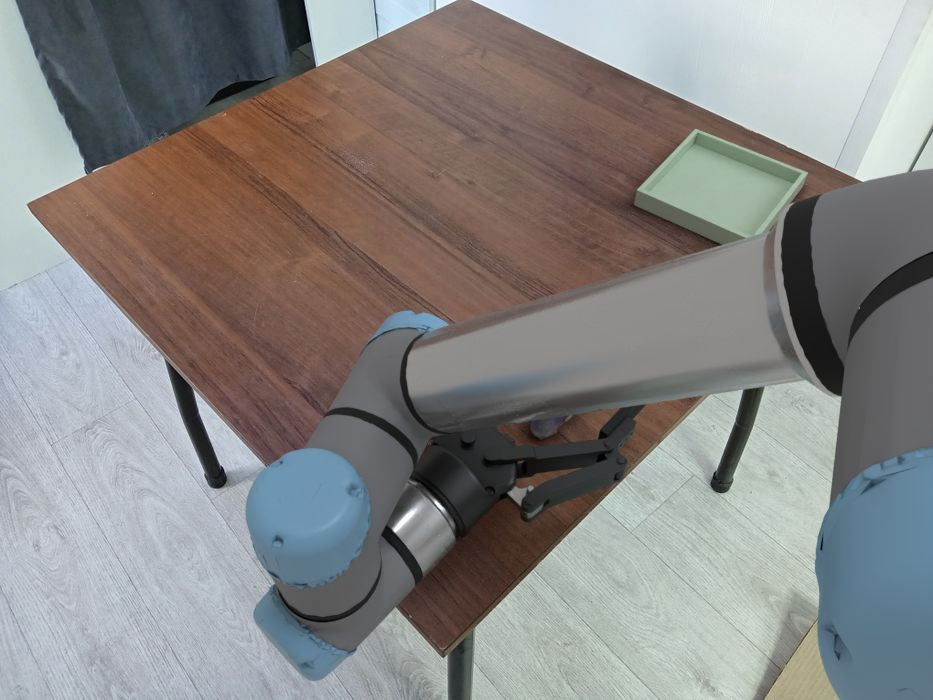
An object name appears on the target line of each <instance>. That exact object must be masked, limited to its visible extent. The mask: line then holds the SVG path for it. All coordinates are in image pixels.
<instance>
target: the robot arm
mask: <svg viewBox="0 0 933 700" xmlns="http://www.w3.org/2000/svg"><path fill="white" fill-rule="evenodd" d="M352 367H353V368H352V369H351V371H350V372H349V374H348V376H347V377H346V379H345V381H344V383H343V384H342V386H341V388H340V390H339V391H338V393H337V394H336V396H335V398H334V400H333V401H332V403H331V405H330V406H329V407H328V409H327V411H326V412H325V414H324V416H323V418H322V419H321V420H320V422H319V423H318V425H317V426H316V428H315V430H314V431H313V433H312V435H311V437H310V438H309V440H308V441H307V443H306V444H305V446H304V448H300V449H296V450H295V449H294V450H291V451H289V452H286V453H284V454H283V455H282V456H281V457H280V458H278V459H277V460H275V461H273V462H272V463H270V464H269V465H266V466H265V467H264V468H263V469H262V470H261V471H260V472H259V473H258V474H257V475H256V477H255V479H254V481H253V482H252V484H251V486H250V488H249V491H248V493H247V497H246V501H245V509H244V511H245V522H246V525H247V526H246V527H247V529H248V532H249V535H250V541H251V543H252V548H253V550H254V554H255V556H256V558H257V560H258V561H259V563H260V564H261V566H262V568H263V569H264V570H265V571H267V573H268V575H269V576H270V578H271V580H272V581H273V582H274V583H273V584H272V585H271V586H270V587H269V589H268V591H267V592H266V593H265V594H264V595H263V597H262V598H261V599H260V600H259V601H258V602H257V604H256V605H255V607H254V609H253V612H252V618H253V620H254V622H255V624H256V626H257V627H258V628H259V630H260V631H261V633H262V634H263V635H264V636H265V638H266V639H267V640H268V641H269V642H270V643H271V644H272V646H273V647H274V648H275V649H276V650H277V652H279V653H280V654H281V656H282V657H283V659H285V660H286V661H287V663H289V664H290V666H292V667H293V669H294V670H295V671H296V672H297V673H299V674H300V675H301V676H302V677H303V678H304V679H306V680H308V681H310V682H319V681H322V680H324V679H326V678H327V676H329V675H330V674H331V673H332V672H333V671H334V670H335V669H336V668H337V667H339V666H340V665H341V664H342V663H343V662H344V661H346V660H347V659H348V658H349V657H352V656H353V655H354V654H356V652H357V650H358V647H360V645H361V644H362V643H363V642H364V641H365V640H366V639H367V638H368V637H369V636H370V635H371V634H372V633H373V631H374V630H375V629H377V627H378V626H380V624H381V623H383V621H384V620H385V619H386V618H387V617H388V616H389V615H390V614H391V612H393V611H394V610H395V608H396V607H397V606H398V605H399V604H401V602H403V600H404V599H405V598H406V597H407V596H408V595H409V594H410V593H411V592H412V591H413V590H414V589H415V587H416V586H417V585H419V583H420V582H421V581H422V580H423V579H424V578H425V577H426V576H427V575H428V574H429V573H430V572H431V571H432V570H433V569H434V568H435V567H436V566H437V565H438V564H440V562H441V561H442V560H443V559H444V558H445V557H446V556H447V555H448V553H450V552H451V551H452V550H453V548H454V547H455V546H456V543H457V541H456V540H457V539H463V538H465V536H467V535H468V534H469V532H470V531H471V530H472V529H473V528H474V527H475V526H477V524H478V523H479V522H480V521H482V519H483V518H484V517H485V516H486V515H487V514H488V513H489V512H490V511H491V510H492V509H493V508H494V506H495V505H496V504H498V503H499V502H501V501H504V500H507V501H509V502H510V503H511V504H512V505H513V507H515V508H516V509H517V510H518V511H519V512H520V513H519V516H520V520H521V521H523V522H524V523H531V522H533V521H535V519H537V518H538V517H539V516H541V514H543V513H544V512H545V511H546V510H547V509H549V508H553V507H555V506H558V505H560V504H563V503H566V502H569V501H571V500H574V499H577V498H580V497H582V496H585V495H587V494H590V493H593V492H595V491H599V490H601V489H604V488H607V487H609V486H612V485H614V484H617V483H620V482H622V481H623V480H624V478H625V475H626V472H627V468H628V465H629V461H628V458H627V457H626V456H624V455H622V454H621V453H620V450H621V449H622V448H623V447H624V446H625V445H626V444H627V442H628V441H629V440H630V439H632V437H633V436H634V432H635V429H636V426H637V420H635V418H636V416H637V415H638V414H639V413H640V412H641V411H642V410H643V409H644V408H645V407H646V405H649V404H656V403H663V402H669V401H675V400H684V399H690V398H696V397H702V396H711V395H717V394H724V393H732V392H738V391H743V390H749V389H750V390H751V389H758V388H764V387H771V386H778V385H785V384H791V383H798V382H805V381H806V382H808V383H809V384H811V385H812V386H813V387H814V388H816V389H818V390H819V391H820V392H822V393H823V394H824V395H826V396H828V397H831V398H840V406H839V415H838V424H837V433H836V440H835V451H834V459H833V468H832V477H831V487H830V495H829V505H828V509H827V510H826V512H825V514H824V516H823V519H822V522H821V524H820V528H819V532H818V535H817V537H816V538H817V539H816V540H817V541H816V546H815V560H814V572H815V577H816V580H817V581H816V582H817V585H818V609H817V623H816V624H817V626H816V630H817V631H816V632H817V633H816V634H817V645H818V651H819V656H820V659H821V663H822V666H823V669H824V672H825V675H826V677H827V679H828V682H829V684H830V685H831V687H832V689H833V692H834V693H835V694H836V696H837V698H838V699H839V700H933V168H926V169H925V168H924V169H918V170H917V169H916V170H912V171H907V172H902V173H896V174H892V175H887V176H882V177H877V178H872V179H868V180H864V181H861V182H857V183H854V184H850V185H847V186H844V187H840V188H837V189H833V190H830V191H825V192H824V193H823V192H822V193H820V194H817V195H814V196H811V197H808V198H804V199H801V200H798V201H795V202H791V203H790V204H789V205H788V206H786V207H785V208H784V210H783V211H782V213H781V214H780V216H779V218H778V220H777V221H776V223H775V224H774V225H773V227H772V228H771V229H770V231H769V232H765V233H762V234H758V235H755V236H752V237H748V238H745V239H741V240H738V241H734V242H731V243H728V244H724V245H722V244H720V245H718V246H715V247H711V248H708V249H704V250H700V251H697V252H694V253H691V254H686V255H683V256H680V257H677V258H676V257H675V258H673V259H669V260H666V261H663V262H660V263H656V264H653V265H650V266H645V267H643V268H639V269H635V270H633V271H628V272H626V273H625V272H624V273H622V274H619V275H615V276H612V277H609V278H605V279H601V280H598V281H595V282H591V283H588V284H584V285H581V286H578V287H574V288H570V289H568V290H564V291H561V292H557V293H554V294H550V295H547V296H543V297H540V298H537V299H533V300H530V301H527V302H523V303H520V304H516V305H513V306H510V307H506V308H502V309H498V310H496V311H492V312H488V313H485V314H482V315H479V316H475V317H472V318H468V319H465V320H461V321H458V322H454V323H451V324H450V323H448V322H446V320H444V319H442V318H441V317H439V316H436V315H434V314H431V313H428V312H425V311H423V312H420V313H416V312H414V311H413V310H409V309H408V310H407V309H406V310H401V311H397V312H395V313H393V314H391V315H389V316H388V317H387V318H385V319H384V321H382V323H381V325H380V326H379V328H378V329H377V330H376V332H375V333H374V334H373V336H371V338H369V339H368V340H367V342H366V344H365V345H364V346H363V347H362V348H361V351H360V354H359V357H358V359H357V360H356V363H355V364H354V366H352ZM616 409H617V411H616V412H615V413H614V414H613V415H612V416H611V418H609V419H608V420H607V421H606V423H605V424H603V426H602V427H601V428H600V429H599V432H598V437H597V439H589V440H580V441H573V442H564V443H557V444H547V445H539V446H534V445H533V444H522V445H517V443H516V439H514V438H513V437H512V436H510V435H509V434H507V433H504V432H502V431H500V430H499V428H498V427H500V426H506V425H507V426H508V425H514V424H521V423H528V422H531V421H535V420H542V419H548V418H555V417H562V416H569V415H573V416H574V415H581V414H588V413H595V412H600V411H601V412H602V411H608V410H616ZM430 440H431V441H432V442H431V443H430V444H429V445H428V443H429V441H430ZM576 469H577V470H576ZM568 470H573V471H571V472H568V473H565V474H562V475H559V476H557V477H554V478H551V479H549V480H547V481H544V482H542V483H540V484H538V485H537V486H535V487H534V485H531V484H530V485H527V486H525V487H522V488H521V487H518V486H517V480H518V479H526V478H527V479H528V478H532V477H534V476H535V475H536V474H537V475H538V474H544V473H552V472H559V471H568Z"/></svg>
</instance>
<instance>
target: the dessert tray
mask: <svg viewBox="0 0 933 700" xmlns="http://www.w3.org/2000/svg"><path fill="white" fill-rule="evenodd" d="M808 174H809V172H808V171H805V170H802V169H800V168H797V167H794V166H792V165H790V164H788V163H785V162H782V161H780V160H777V159H774V158H772V157H769V156H766V155H764V154H761V153H759V152H756V151H754V150H751V149H749V148H747V147H743V146H741V145H739V144H736V143H734V142H731V141H728V140H726V139H723V138H720V137H718V136H716V135H713V134H710V133H708V132H705V131H703V130H699V129H698V128H694V130H692V132H691V133H689V135H688V136H687V137H686V138H685V139H684V140H683V141H681V143H679V145H678V146H677V147H676V149H674V151H672V153H670V155H668V157H666V159H665V160H664V161H663V162H662V163H661V164H660V165H659V166H658V167H657V168H656V169H655V170H654V171H653V172H652V173H651V174H650V175H649V177H648V178H646V180H645V181H643V183H642V184H641V185H640V186H639V187H638V188H637V189H636V192H635V197H634V201H633V206H635V207H637V208H640V209H641V210H644V211H646V212H648V213H651V214H653V215H655V216H657V217H659V218H661V219H664V220H666V221H668V222H671V223H673V224H675V225H678V226H679V227H682V228H683V229H686V230H688V231H690V232H693V233H695V234H698V235H699V236H701V237H704V238H706V239H708V240H711V241H713V242H715V243H718V244H719V245H724V244H728V243H731V242H734V241H738V240H741V239H745V238H748V237H752V236H755V235H758V234H762V233H765V232H769V231H771V230H772V229H773V227H774V225H775V223H776V222H777V220H778V218H779V216H780V214H781V213H782V211H783V210H784V208H785V207H786V206H788V205H789V204H791V203H793V201H794V199H795V198H796V197H797V195H798V194H799V193H800V191H801V190H802V189H803V187H804V184H805V182H806V180H807V176H808Z"/></svg>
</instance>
